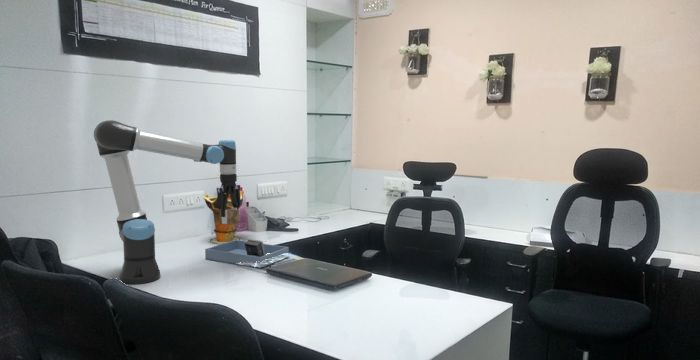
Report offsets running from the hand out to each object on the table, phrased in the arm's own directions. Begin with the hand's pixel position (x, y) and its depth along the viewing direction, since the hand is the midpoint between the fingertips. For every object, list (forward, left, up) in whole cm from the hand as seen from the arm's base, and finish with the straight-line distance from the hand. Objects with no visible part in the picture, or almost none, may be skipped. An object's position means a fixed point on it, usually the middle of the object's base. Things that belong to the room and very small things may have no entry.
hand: (229, 222), depth 227 cm
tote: (+5, -7, -17) cm, 19 cm away
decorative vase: (+29, +27, -18) cm, 43 cm away
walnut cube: (0, 0, 0) cm, 0 cm away
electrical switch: (+5, -11, -17) cm, 21 cm away
